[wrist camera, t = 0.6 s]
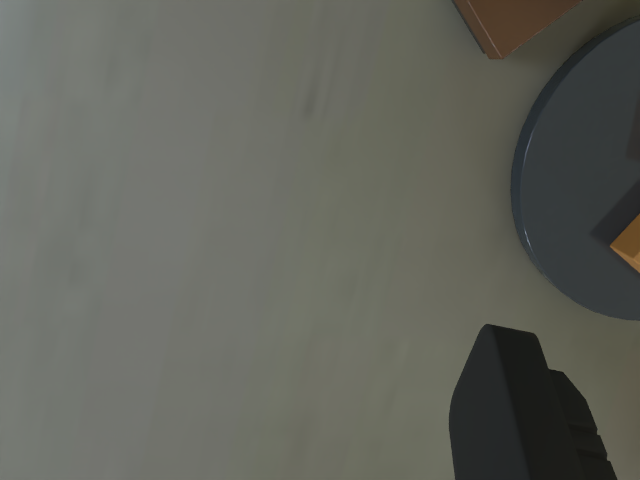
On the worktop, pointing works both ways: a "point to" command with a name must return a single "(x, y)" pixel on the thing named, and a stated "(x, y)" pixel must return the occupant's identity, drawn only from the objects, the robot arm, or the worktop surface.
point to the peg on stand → (509, 21)
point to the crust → (629, 244)
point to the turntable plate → (584, 173)
